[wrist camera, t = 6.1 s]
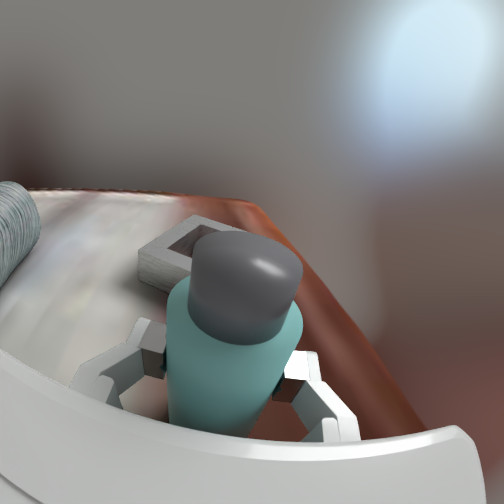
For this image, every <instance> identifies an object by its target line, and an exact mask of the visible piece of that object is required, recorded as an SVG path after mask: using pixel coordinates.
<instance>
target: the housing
mask: <svg viewBox="0 0 504 504" xmlns="http://www.w3.org/2000/svg"><path fill="white" fill-rule="evenodd" d="M219 231H242V232H246V231H243V230H240V229H237V228H234V227H231V226H228V225H225V224H222V223H219V222H216V221H213V220H210V219H207V218H204V217H201V216H197V215H193V216H191V217H189V218H188V219H186V220H184V221H183V222H181V223H180V224H178V225H176V226H175V227H173V228H172V229H170V230H168V231H167V232H165V233H164V234H162V235H161V236H159V237H157V238H156V239H154V240H153V241H151V242H150V243H148V244H147V245H145V246H144V247H142V248H140V249H139V250H138V279H139V280H141V281H143V282H145V283H147V284H149V285H151V286H154V287H156V288H158V289H160V290H162V291H164V292H167V293H169V294H170V292H171V291H172V289H173V288H174V287H175V285H176V284H178V283H179V282H180V281H181V280H183V279H184V278H186V277H188V276H190V274H191V265H192V258H190V257H189V256H190V255H191V254H192V253H193V248H194V245H195V243H196V242H197V241H198V240H199V239H200V238H201V237H203V236H205V235H207V234H210V233H214V232H219ZM278 243H279V242H278Z"/></svg>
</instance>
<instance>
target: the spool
mask: <svg viewBox="0 0 504 504" xmlns="http://www.w3.org/2000/svg"><path fill="white" fill-rule="evenodd" d="M40 231H41V221H40V217H39V213H38V210H37V207H36V205H35V203H34V201H33V199H32V197H31V196H30V194H29V193H28V191H27V190H25V189H24V188H23V187H22V186H21V185H19V184H17V183H14V182H1V183H0V288H1V286H2V284H3V283H4V282H5V281H6V279H7V278H8V277H9V275H10V274H11V273H12V271H13V270H14V269H15V268H16V266H17V265H18V264H19V263H20V262H21V261H22V260H23V259H24V257H25V256H26V255H27V253H29V252H30V251H31V250H32V248H33V247H34V246H35V244H36V243H37V241H38V239H39V235H40Z"/></svg>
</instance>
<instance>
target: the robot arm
mask: <svg viewBox="0 0 504 504" xmlns="http://www.w3.org/2000/svg"><path fill="white" fill-rule="evenodd" d="M166 371H167V363H166V324H163V323H160V322H156V321H153V320H149V319H145V318H142V317H140V318H139V319H138V320H137V322H136V324H135V326H134V328H133V330H132V332H131V334H130V336H129V338H128V340H127V342H126V344H125V343H121V344H119V345H117V346H115V347H114V348H112V349H110V350H108V351H106V352H104V353H102V354H100V355H99V356H97V357H95V358H93V359H91V360H89V361H87V362H85V363H83V364H82V365H80V367H79V369H78V371H77V372H76V374H75V376H74V378H73V380H72V382H71V383H70V385H69V387H66V386H64V385H62V384H60V383H58V382H56V381H54V380H52V379H50V378H48V377H47V376H45V375H43V374H41V373H39V372H37V371H36V370H34V369H32V368H30V367H29V366H27V365H25V364H24V363H22V362H20V361H19V360H17V359H16V358H14V357H12V356H11V355H9V354H8V353H6V352H5V351H3V350H2V349H0V504H486V495H485V487H484V480H483V474H482V469H481V465H480V460H479V456H478V452H477V449H476V446H475V444H474V442H473V440H472V439H471V438H470V437H469V436H468V435H467V434H466V433H465V432H464V431H463V430H462V429H460V428H459V427H458V426H456V425H451V426H447V427H443V428H439V429H434V430H430V431H425V432H420V433H415V434H409V435H404V436H397V437H390V438H382V439H373V440H363V441H361V439H360V433H359V428H358V423H357V418H356V416H355V415H354V414H353V413H352V412H351V411H350V410H349V408H348V407H347V406H346V405H345V404H344V403H343V402H342V401H341V400H340V398H339V397H338V396H337V395H336V394H335V393H334V392H333V391H332V390H331V388H330V387H329V386H328V385H327V384H326V383H325V382H322V381H321V375H320V369H319V363H318V357H317V353H316V352H310V351H303V350H295V349H294V352H293V354H292V356H291V358H290V360H289V362H288V364H287V366H286V368H285V370H284V371H283V373H282V375H281V377H280V379H279V381H278V383H277V385H276V387H275V389H274V391H273V392H272V400H273V401H280V402H289V403H291V405H292V406H293V408H294V409H295V411H296V413H297V414H298V416H299V417H300V419H301V420H302V422H303V424H304V425H305V427H306V428H307V430H308V431H309V434H308V435H307V436H306V437H305V438H304V439H303V440H302V441H301V442H283V441H269V440H258V439H249V438H241V437H233V436H227V435H220V434H214V433H209V432H204V431H199V430H194V429H189V428H185V427H180V426H176V425H172V424H168V423H164V422H161V421H157V420H154V419H150V418H147V417H143V416H140V415H137V414H134V413H131V412H128V411H125V410H123V408H122V405H121V402H120V399H119V395H120V394H122V393H123V392H124V391H126V390H127V389H128V388H130V387H131V386H132V385H133V384H135V383H136V382H137V381H139V380H140V379H141V378H142V377H144V375H147V376H151V377H154V378H158V379H162V380H164V377H165V374H166Z"/></svg>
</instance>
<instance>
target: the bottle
mask: <svg viewBox="0 0 504 504" xmlns="http://www.w3.org/2000/svg"><path fill="white" fill-rule="evenodd" d="M302 275H303V266H302V263H301V261H300V260H299V258H298V257H297V256H296V255H295V254H294V253H293V252H292V251H291V250H290V249H288V248H287V247H285V246H284V245H282V244H280V243H278V242H276V241H274V240H272V239H270V238H267V237H264V236H261V235H258V234H253V233H249V232H242V231H219V232H214V233H210V234H207V235H205V236H203V237H201V238H200V239H199V240H198V241H197V242H196V243H195V245H194V248H193V256H192V265H191V274H190V276H188V277H186V278H184V279H183V280H181V281H180V282H179V283H178V284H176V285H175V287H174V288H173V289H172V291H171V292H170V294H169V297H168V301H167V322H166V363H167V395H168V413H169V424H172V425H176V426H180V427H185V428H189V429H194V430H199V431H204V432H209V433H214V434H220V435H227V436H233V437H241V438H247V437H248V435H249V433H250V431H251V430H252V428H253V426H254V425H255V423H256V421H257V419H258V418H259V416H260V414H261V412H262V411H263V409H264V407H265V405H266V403H267V402H268V400H269V398H270V396H271V394H272V392H273V391H274V389H275V387H276V385H277V383H278V381H279V379H280V377H281V375H282V373H283V371H284V370H285V368H286V366H287V364H288V362H289V360H290V358H291V356H292V354H293V352H294V349H295V347H296V345H297V343H298V341H299V339H300V337H301V334H302V330H303V320H302V316H301V313H300V310H299V308H298V307H297V305H296V303H295V302H294V301H293V299H294V296H295V294H296V291H297V288H298V286H299V283H300V280H301V278H302Z"/></svg>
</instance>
